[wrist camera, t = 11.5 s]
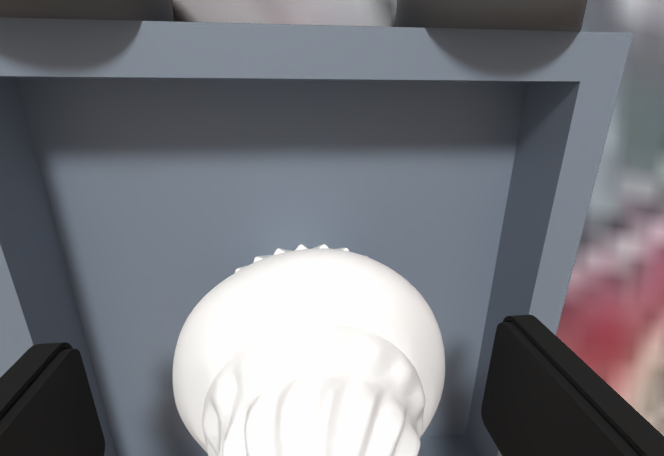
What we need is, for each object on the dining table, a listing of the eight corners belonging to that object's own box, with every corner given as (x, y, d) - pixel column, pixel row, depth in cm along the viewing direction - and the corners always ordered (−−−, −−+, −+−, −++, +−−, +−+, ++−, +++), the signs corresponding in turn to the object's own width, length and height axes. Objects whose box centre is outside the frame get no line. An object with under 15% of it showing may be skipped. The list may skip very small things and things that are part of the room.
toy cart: (557, -18, 10) (706, -75, 7) (469, 456, 17) (521, 560, 13) (-33, -40, 9) (-263, -132, 5) (116, 491, 15) (61, 622, 12)
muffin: (168, 323, 12) (21, 623, 5) (272, 160, 10) (249, 292, 4) (331, 397, 14) (372, 688, 7) (439, 266, 12) (618, 480, 6)
